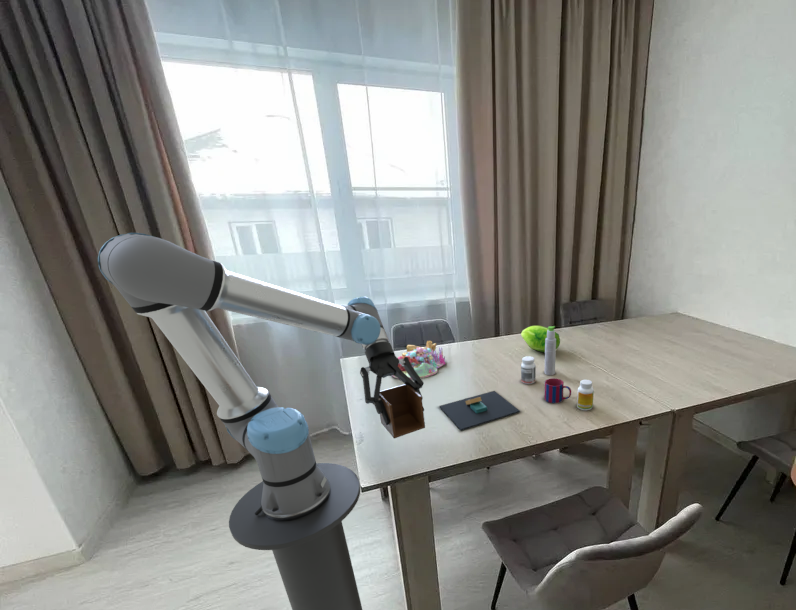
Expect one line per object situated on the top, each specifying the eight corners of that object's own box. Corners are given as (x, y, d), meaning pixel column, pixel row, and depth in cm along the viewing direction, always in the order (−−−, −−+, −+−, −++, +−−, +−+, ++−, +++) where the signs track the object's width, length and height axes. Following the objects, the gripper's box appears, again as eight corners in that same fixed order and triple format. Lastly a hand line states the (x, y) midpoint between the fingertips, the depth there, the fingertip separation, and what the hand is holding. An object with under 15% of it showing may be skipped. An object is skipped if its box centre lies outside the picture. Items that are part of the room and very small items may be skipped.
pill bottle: (528, 377, 162) (528, 354, 158) (538, 381, 158) (538, 358, 154) (518, 381, 158) (518, 358, 154) (528, 385, 154) (528, 362, 151)
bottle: (556, 374, 164) (558, 328, 156) (546, 375, 163) (548, 329, 155) (552, 370, 168) (554, 324, 160) (542, 371, 167) (543, 326, 159)
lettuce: (533, 341, 202) (533, 319, 197) (567, 353, 186) (568, 329, 181) (514, 347, 194) (514, 324, 190) (547, 360, 178) (548, 335, 174)
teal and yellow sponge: (476, 410, 133) (476, 413, 134) (487, 406, 135) (487, 410, 136) (470, 404, 137) (470, 407, 138) (480, 401, 139) (480, 404, 140)
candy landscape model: (389, 360, 180) (386, 340, 177) (441, 353, 187) (439, 335, 183) (391, 382, 159) (388, 360, 155) (450, 374, 165) (448, 353, 162)
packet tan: (470, 399, 135) (471, 403, 135) (480, 396, 137) (481, 400, 137) (465, 401, 140) (466, 405, 139) (475, 398, 141) (476, 402, 141)
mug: (551, 393, 149) (551, 376, 146) (574, 401, 143) (575, 383, 140) (540, 399, 144) (541, 382, 141) (564, 408, 138) (564, 390, 135)
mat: (461, 430, 125) (460, 429, 125) (439, 407, 139) (439, 405, 139) (519, 412, 136) (519, 410, 135) (494, 392, 150) (494, 390, 150)
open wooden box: (381, 423, 114) (376, 391, 110) (410, 413, 119) (407, 383, 115) (394, 438, 106) (389, 405, 103) (425, 427, 111) (421, 396, 107)
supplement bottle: (594, 410, 136) (596, 384, 132) (578, 411, 136) (580, 385, 132) (590, 403, 141) (592, 378, 137) (575, 403, 141) (576, 378, 137)
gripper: (410, 344, 123) (438, 410, 118) (337, 361, 111) (364, 434, 106) (415, 332, 117) (445, 401, 112) (338, 349, 105) (367, 426, 100)
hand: (405, 417), depth 109 cm, fingers closed on open wooden box, 9 cm apart
